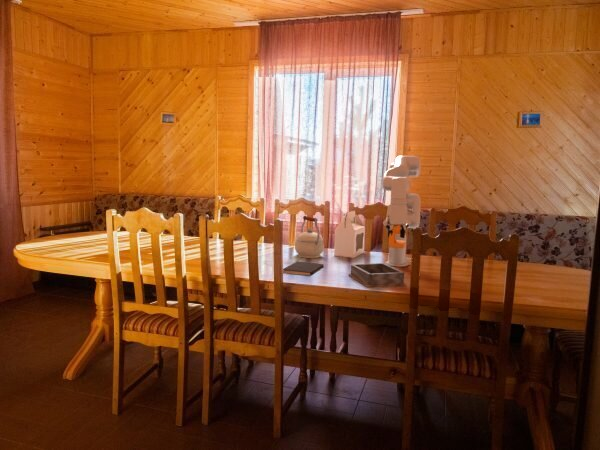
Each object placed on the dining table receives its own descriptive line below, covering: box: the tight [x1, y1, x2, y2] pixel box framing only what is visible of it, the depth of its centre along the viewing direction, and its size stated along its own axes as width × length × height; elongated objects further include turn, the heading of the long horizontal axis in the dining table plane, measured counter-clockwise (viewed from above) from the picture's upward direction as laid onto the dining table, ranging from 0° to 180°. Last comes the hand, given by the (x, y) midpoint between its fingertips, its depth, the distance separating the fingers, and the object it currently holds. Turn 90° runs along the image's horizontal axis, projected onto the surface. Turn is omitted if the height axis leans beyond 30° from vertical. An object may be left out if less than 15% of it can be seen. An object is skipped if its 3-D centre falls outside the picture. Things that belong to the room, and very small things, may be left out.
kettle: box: [294, 215, 325, 259], centre depth 291 cm, size 25×18×25 cm
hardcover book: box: [282, 260, 325, 276], centre depth 255 cm, size 16×23×2 cm
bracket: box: [388, 225, 405, 248], centre depth 235 cm, size 11×7×12 cm, turn 162°
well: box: [348, 262, 407, 289], centre depth 234 cm, size 20×24×6 cm
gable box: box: [333, 210, 366, 258], centre depth 302 cm, size 22×13×28 cm, turn 155°
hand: (396, 237), depth 234 cm, fingers closed on bracket, 6 cm apart
